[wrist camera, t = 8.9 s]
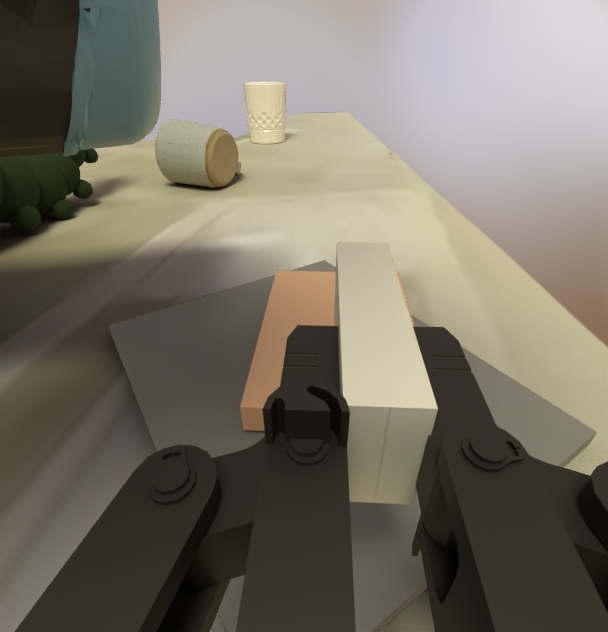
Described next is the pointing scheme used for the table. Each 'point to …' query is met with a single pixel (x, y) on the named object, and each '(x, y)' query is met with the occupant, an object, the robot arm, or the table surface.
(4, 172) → the toy figurine
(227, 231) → the table surface
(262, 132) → the white cup
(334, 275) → the tile
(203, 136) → the ceramic mug
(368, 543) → the mat
